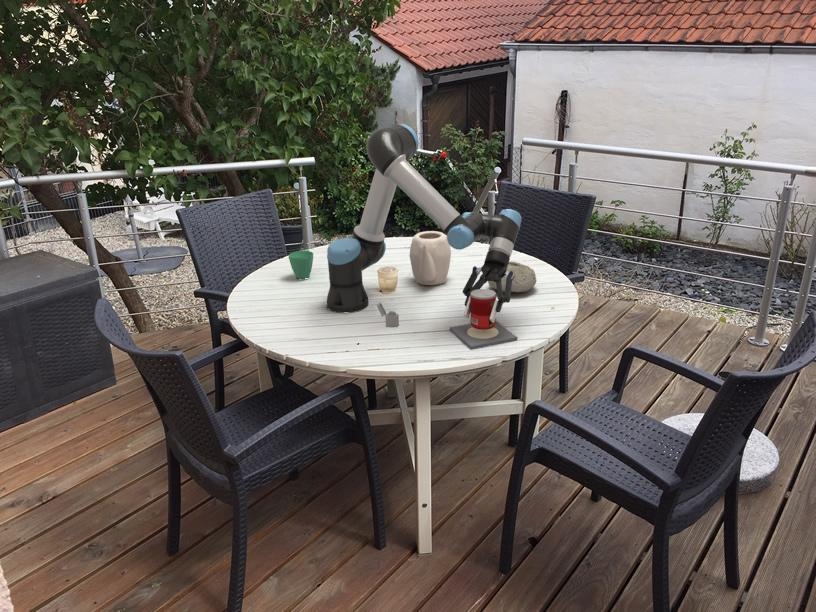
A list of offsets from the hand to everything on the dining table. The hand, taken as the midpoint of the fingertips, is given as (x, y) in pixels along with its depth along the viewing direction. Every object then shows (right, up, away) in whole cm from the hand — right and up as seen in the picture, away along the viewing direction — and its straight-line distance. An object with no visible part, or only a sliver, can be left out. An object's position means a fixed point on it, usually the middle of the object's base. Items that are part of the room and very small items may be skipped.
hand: (478, 318), depth 213 cm
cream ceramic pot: (-13, +13, +53) cm, 56 cm away
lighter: (-29, -3, +15) cm, 32 cm away
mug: (-64, +16, +65) cm, 93 cm away
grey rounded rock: (+17, +10, +42) cm, 46 cm away
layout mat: (+2, -5, +5) cm, 8 cm away
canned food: (+2, -2, +4) cm, 5 cm away
